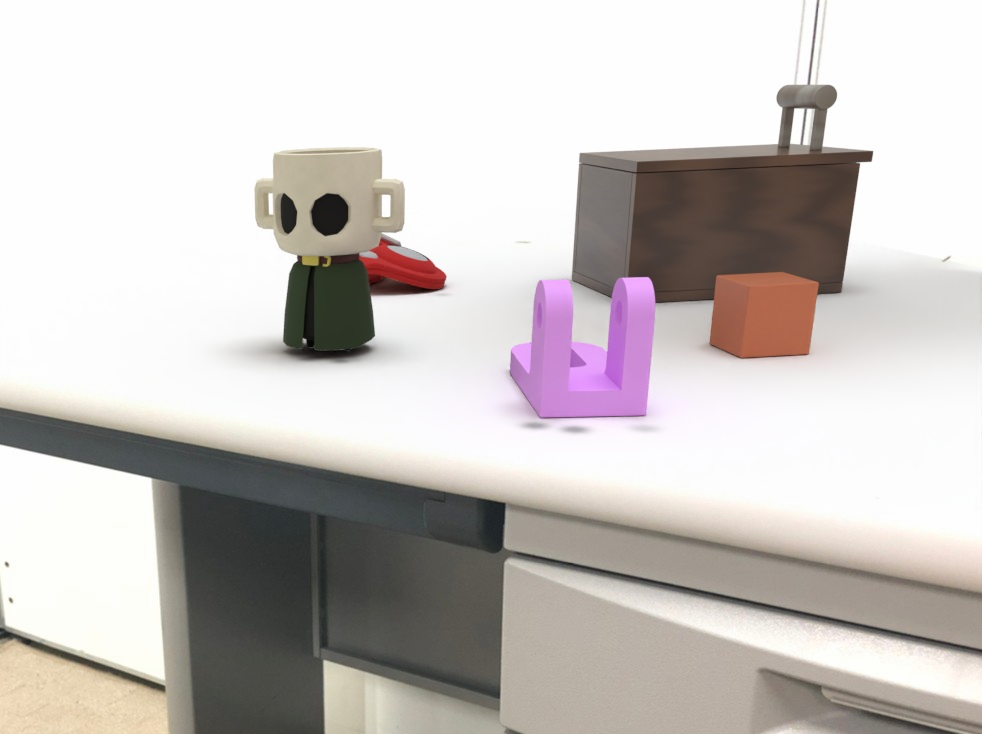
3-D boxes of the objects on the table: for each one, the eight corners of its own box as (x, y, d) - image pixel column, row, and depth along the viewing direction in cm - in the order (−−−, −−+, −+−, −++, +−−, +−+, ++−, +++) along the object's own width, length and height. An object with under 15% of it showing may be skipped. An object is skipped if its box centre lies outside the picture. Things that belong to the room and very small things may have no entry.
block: (774, 340, 80) (782, 271, 78) (809, 354, 75) (819, 282, 74) (708, 343, 79) (716, 275, 78) (740, 358, 75) (749, 285, 73)
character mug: (234, 354, 82) (226, 154, 77) (283, 334, 87) (279, 147, 83) (380, 366, 77) (382, 153, 72) (422, 345, 82) (426, 146, 77)
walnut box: (763, 269, 106) (777, 154, 103) (841, 292, 95) (860, 163, 91) (571, 279, 105) (578, 163, 102) (626, 304, 94) (636, 173, 90)
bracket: (646, 415, 64) (658, 283, 61) (540, 417, 64) (547, 286, 61) (592, 361, 76) (600, 249, 73) (503, 363, 76) (508, 252, 73)
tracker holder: (473, 273, 103) (381, 256, 98) (454, 321, 105) (363, 307, 100) (399, 228, 112) (311, 210, 107) (383, 273, 114) (296, 257, 109)
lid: (788, 153, 103) (796, 83, 101) (872, 161, 91) (883, 83, 89) (578, 162, 102) (583, 92, 100) (636, 172, 90) (643, 93, 88)
